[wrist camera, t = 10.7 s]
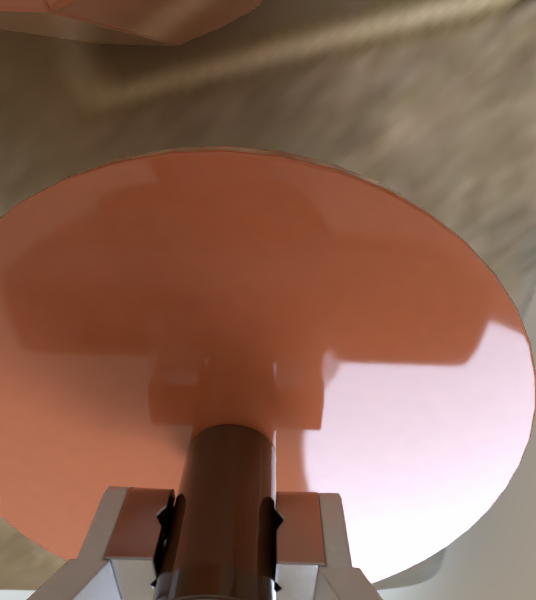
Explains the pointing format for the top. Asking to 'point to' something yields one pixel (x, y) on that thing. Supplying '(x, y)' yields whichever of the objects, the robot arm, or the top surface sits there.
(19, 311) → the crock lid
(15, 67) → the top surface
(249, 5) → the crock
